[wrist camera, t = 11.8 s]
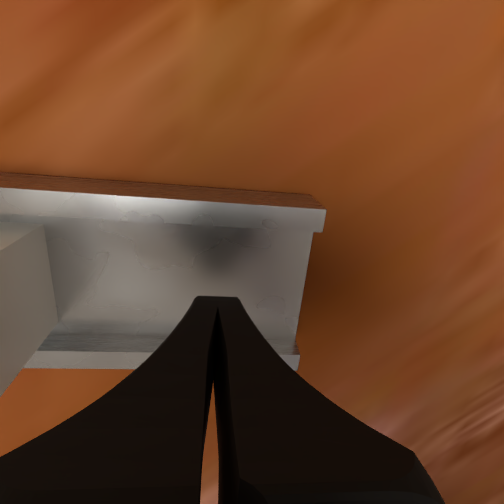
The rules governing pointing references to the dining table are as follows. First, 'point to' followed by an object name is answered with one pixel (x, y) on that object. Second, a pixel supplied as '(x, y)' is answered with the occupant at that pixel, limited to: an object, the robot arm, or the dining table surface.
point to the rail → (160, 261)
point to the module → (23, 296)
